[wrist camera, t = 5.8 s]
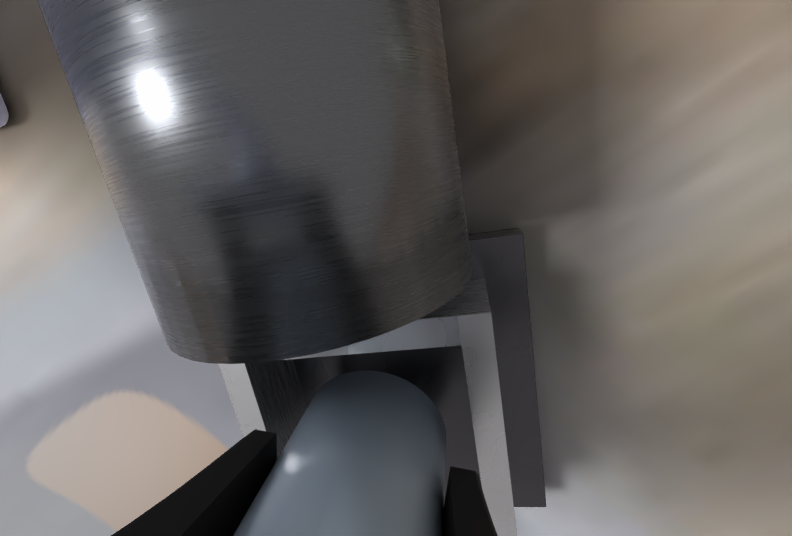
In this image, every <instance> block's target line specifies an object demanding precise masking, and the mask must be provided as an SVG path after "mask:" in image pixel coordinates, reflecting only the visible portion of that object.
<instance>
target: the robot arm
mask: <svg viewBox="0 0 792 536" xmlns="http://www.w3.org/2000/svg"><path fill="white" fill-rule="evenodd" d="M8 115H9V114H8V111H7V107H6V105H5V103H4V100H3V98H2V96H1V93H0V127H2V126H4V125H6V123H7V121H8ZM276 461H277V433H272V432H267V431H261V430H256V429H255V430H253V431H252V432H250V433H249V434H248V435H246V436H245V437H244V438H243V439H241V440H240V441H239V442H238V443H236V444H235V445H234V446H233V447H231V448H230V449H229V450H228V451H226V452H225V453H224V454H222V455H221V456H220V457H219V458H217V459H216V460H215V461H214V462H212V463H211V464H210V465H209V466H207V467H206V468H205V469H203V470H202V471H201V472H199V473H198V474H197V475H196V476H194V477H193V478H192V479H190V480H189V481H188V482H187V483H185V484H184V485H183V486H181V487H180V488H178V489H177V490H176V491H175V492H173V493H172V494H170V495H169V496H168V497H166V498H165V499H163V500H162V501H161V502H159V503H158V504H156V505H155V506H154V507H152V508H151V509H149V510H148V511H146V512H145V513H144V514H142V515H141V516H139V517H138V518H136V519H135V520H134V521H132V522H131V523H129V524H128V525H126V526H125V527H124V528H122V529H120V530H119V531H117V532H116V533H114V534H113V535H111V536H233V535H234V533H235V532H236V530H237V528H238V527H239V525H240V523H241V521H242V520H243V518H244V516H245V515H246V513H247V511H248V509H249V508H250V506H251V504H252V502H253V501H254V499H255V497H256V496H257V494H258V492H259V490H260V489H261V487H262V485H263V483H264V482H265V480H266V478H267V477H268V475H269V473H270V471H271V470H272V468H273V466H274V464H275V463H276ZM442 536H498V535H497V532H496V530H495V527H494V524H493V521H492V518H491V515H490V513H489V510H488V506H487V503H486V500H485V497H484V494H483V490H482V486H481V483H480V478H479V475H478V474H477V473H476V471H473V470H468V469H463V468H457V467H452V466H450V471H449V477H448V483H447V489H446V496H445V502H444V508H443V528H442Z"/></svg>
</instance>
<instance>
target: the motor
mask: <svg viewBox="0 0 792 536" xmlns="http://www.w3.org/2000/svg"><path fill="white" fill-rule="evenodd" d="M37 1H38V3H39V6H40V9H41V11H42V14H43V17H44V19H45V22H46V25H47V27H48V30H49V33H50V35H51V38H52V41H53V43H54V46H55V48H56V51H57V54H58V56H59V59H60V62H61V64H62V67H63V70H64V72H65V75H66V78H67V80H68V83H69V86H70V88H71V91H72V93H73V96H74V99H75V101H76V104H77V107H78V109H79V112H80V115H81V117H82V120H83V123H84V125H85V128H86V131H87V133H88V136H89V138H90V141H91V144H92V146H93V149H94V152H95V154H96V157H97V160H98V162H99V165H100V168H101V170H102V173H103V176H104V178H105V181H106V183H107V186H108V189H109V191H110V194H111V197H112V199H113V202H114V205H115V207H116V210H117V213H118V215H119V218H120V220H121V223H122V226H123V228H124V231H125V234H126V236H127V239H128V242H129V244H130V247H131V250H132V252H133V255H134V258H135V260H136V263H137V265H138V268H139V271H140V273H141V276H142V279H143V281H144V284H145V287H146V289H147V292H148V295H149V297H150V300H151V303H152V305H153V308H154V310H155V313H156V316H157V318H158V321H159V324H160V326H161V329H162V332H163V334H164V337H165V340H166V342H167V345H168V346H169V348H170V349H171V351H173V352H174V353H176V354H177V355H179V356H181V357H184V358H187V359H190V360H193V361H199V362H205V363H218V364H219V367H220V369H221V372H222V375H223V378H224V381H225V384H226V387H227V390H228V393H229V396H230V399H231V402H232V405H233V407H234V410H235V413H236V416H237V419H238V422H239V425H240V428H241V431H242V434H243V437H245V436H246V435H248V434H249V433H250V432H252V431H253V430H255V429H256V430H261V431H267V432H272V433H277V459H278V458H279V456H280V454H281V452H282V451H283V449H284V447H285V445H286V444H287V442H288V440H289V439H290V437H291V435H292V433H293V432H294V430H295V428H296V426H297V425H298V423H299V421H300V420H301V418H302V416H303V414H304V413H305V411H306V409H307V408H308V406H309V404H310V402H311V401H312V399H313V397H314V396H315V394H316V393H317V391H318V390H319V389H320V388H321V387H322V386H323V385H324V384H326V383H327V382H328V381H330V380H331V379H333V378H335V377H337V376H340V375H342V374H346V373H349V372H354V371H367V370H368V371H379V372H384V373H389V374H392V375H395V376H398V377H400V378H402V379H404V380H406V381H408V382H410V383H412V384H413V385H415V386H416V387H418V388H419V389H420V390H422V391H423V392H424V393H425V394H426V395H427V396H428V397H429V398H430V399H431V401H432V402H433V403H434V404H435V406H436V407H437V409H438V410H439V412H440V414H441V417H442V419H443V422H444V425H445V429H446V458H445V481H444V502H445V496H446V489H447V483H448V477H449V471H450V466H452V467H457V468H463V469H468V470H473V471H476V473H477V474H478V475H479V478H480V483H481V486H482V490H483V494H484V497H485V500H486V503H487V506H488V510H489V513H490V515H491V518H492V521H493V524H494V527H495V530H496V532H497V535H498V536H517V531H516V522H515V513H514V507H546V498H545V487H544V475H543V463H542V452H541V440H540V428H539V417H538V405H537V394H536V382H535V370H534V359H533V347H532V336H531V324H530V312H529V301H528V289H527V278H526V266H525V254H524V243H523V233H522V232H521V231H520V229H519V228H516V229H508V230H501V231H494V232H486V233H479V234H472V235H468V228H467V220H466V212H465V204H464V196H463V188H462V180H461V172H460V164H459V156H458V149H457V141H456V133H455V125H454V117H453V109H452V101H451V93H450V85H449V77H448V69H447V61H446V53H445V45H444V38H443V30H442V22H441V14H440V6H439V0H37ZM443 507H444V505H443Z"/></svg>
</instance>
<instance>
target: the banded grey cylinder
mask: <svg viewBox="0 0 792 536" xmlns="http://www.w3.org/2000/svg"><path fill="white" fill-rule="evenodd" d="M445 458H446V429H445V425H444V422H443V419H442V417H441V414H440V412H439V410H438V409H437V407H436V406H435V404H434V403H433V402H432V401H431V399H430V398H429V397H428V396H427V395H426V394H425V393H424V392H423V391H422V390H420V389H419V388H418V387H416V386H415V385H413V384H412V383H410V382H408V381H406V380H404V379H402V378H400V377H398V376H395V375H392V374H389V373H384V372H379V371H368V370H367V371H354V372H349V373H346V374H342V375H340V376H337V377H335V378H333V379H331V380H330V381H328V382H327V383H326V384H324V385H323V386H322V387H321V388H320V389H319V390H318V391H317V393H316V394H315V396H314V397H313V399H312V401H311V402H310V404H309V406H308V408H307V409H306V411H305V413H304V414H303V416H302V418H301V420H300V421H299V423H298V425H297V426H296V428H295V430H294V432H293V433H292V435H291V437H290V439H289V440H288V442H287V444H286V445H285V447H284V449H283V451H282V452H281V454H280V456H279V458H278V459H277V461H276V463H275V464H274V466H273V468H272V470H271V471H270V473H269V475H268V477H267V478H266V480H265V482H264V483H263V485H262V487H261V489H260V490H259V492H258V494H257V496H256V497H255V499H254V501H253V502H252V504H251V506H250V508H249V509H248V511H247V513H246V515H245V516H244V518H243V520H242V521H241V523H240V525H239V527H238V528H237V530H236V532H235V533H234V535H233V536H442V528H443V505H444V481H445Z"/></svg>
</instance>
